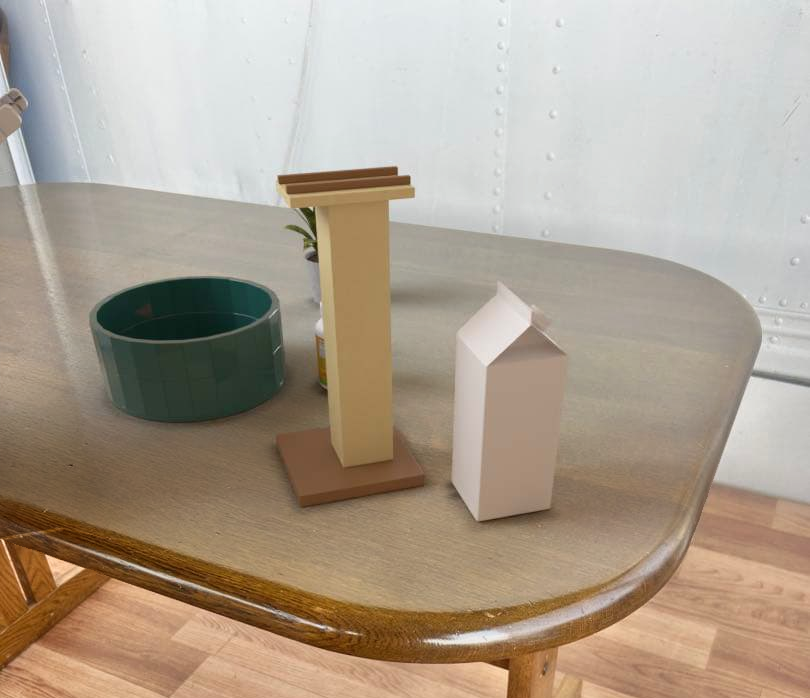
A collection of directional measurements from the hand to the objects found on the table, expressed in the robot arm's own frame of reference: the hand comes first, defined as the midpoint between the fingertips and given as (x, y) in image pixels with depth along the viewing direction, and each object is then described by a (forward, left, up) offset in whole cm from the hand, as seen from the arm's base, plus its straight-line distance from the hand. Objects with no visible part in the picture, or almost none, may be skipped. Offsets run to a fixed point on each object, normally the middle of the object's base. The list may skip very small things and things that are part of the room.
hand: (19, 104), depth 70 cm
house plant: (+32, +26, -31) cm, 52 cm away
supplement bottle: (+27, 0, -31) cm, 41 cm away
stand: (+23, -18, -30) cm, 42 cm away
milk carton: (+35, -28, -31) cm, 54 cm away
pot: (+11, +6, -30) cm, 33 cm away
